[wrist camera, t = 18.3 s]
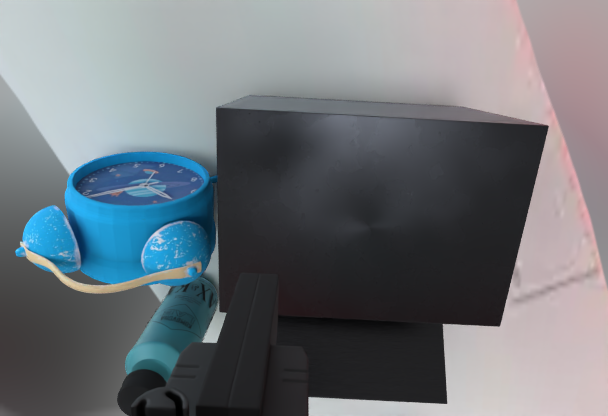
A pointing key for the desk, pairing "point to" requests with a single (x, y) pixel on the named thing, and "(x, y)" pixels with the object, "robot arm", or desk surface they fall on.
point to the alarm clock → (128, 223)
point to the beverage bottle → (167, 338)
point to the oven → (374, 206)
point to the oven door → (369, 358)
